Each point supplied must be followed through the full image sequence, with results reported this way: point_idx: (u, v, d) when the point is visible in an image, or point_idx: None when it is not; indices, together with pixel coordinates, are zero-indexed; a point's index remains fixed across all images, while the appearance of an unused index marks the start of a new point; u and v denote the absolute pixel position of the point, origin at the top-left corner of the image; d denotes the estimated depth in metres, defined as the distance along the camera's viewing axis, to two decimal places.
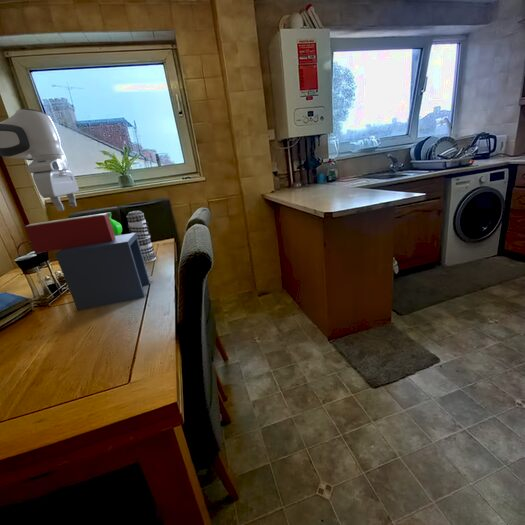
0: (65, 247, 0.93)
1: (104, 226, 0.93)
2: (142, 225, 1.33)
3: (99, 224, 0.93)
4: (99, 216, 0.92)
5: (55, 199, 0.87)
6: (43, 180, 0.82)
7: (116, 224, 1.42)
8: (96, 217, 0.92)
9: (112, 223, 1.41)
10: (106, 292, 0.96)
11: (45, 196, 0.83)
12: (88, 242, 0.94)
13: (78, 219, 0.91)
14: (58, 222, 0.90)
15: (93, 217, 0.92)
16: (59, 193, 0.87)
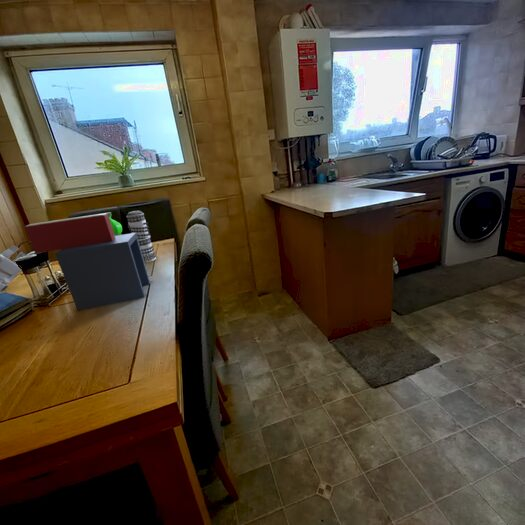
0: (65, 247, 0.93)
1: (104, 226, 0.93)
2: (142, 225, 1.33)
3: (99, 224, 0.93)
4: (99, 216, 0.92)
5: None
6: None
7: (116, 224, 1.42)
8: (96, 217, 0.92)
9: (112, 223, 1.41)
10: (106, 292, 0.96)
11: None
12: (88, 242, 0.94)
13: (78, 219, 0.91)
14: (58, 222, 0.90)
15: (93, 217, 0.92)
16: (18, 268, 1.03)
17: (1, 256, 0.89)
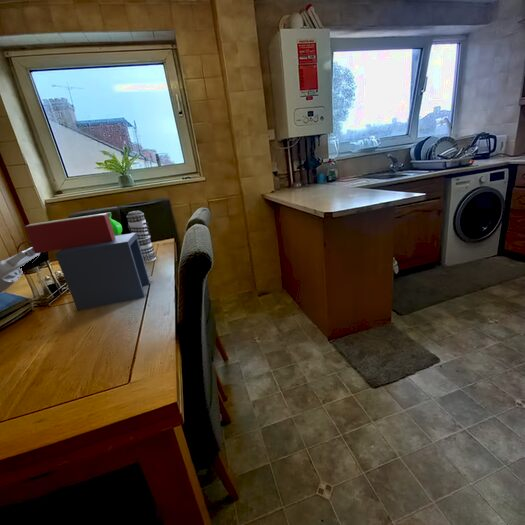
0: (65, 247, 0.93)
1: (104, 226, 0.93)
2: (142, 225, 1.33)
3: (99, 224, 0.93)
4: (99, 216, 0.92)
5: None
6: None
7: (116, 224, 1.42)
8: (96, 217, 0.92)
9: (112, 223, 1.41)
10: (106, 292, 0.96)
11: None
12: (88, 242, 0.94)
13: (78, 219, 0.91)
14: (58, 222, 0.90)
15: (93, 217, 0.92)
16: None
17: (4, 270, 0.84)
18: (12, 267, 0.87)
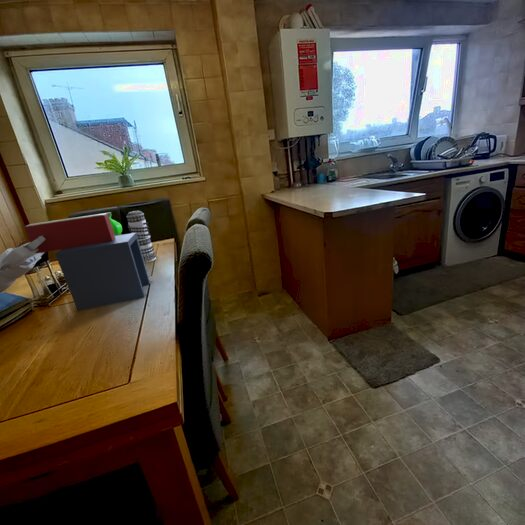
0: (65, 247, 0.93)
1: (104, 226, 0.93)
2: (142, 225, 1.33)
3: (99, 224, 0.93)
4: (99, 216, 0.92)
5: None
6: None
7: (116, 224, 1.42)
8: (96, 217, 0.92)
9: (112, 223, 1.41)
10: (106, 292, 0.96)
11: None
12: (88, 242, 0.94)
13: (78, 219, 0.91)
14: (58, 222, 0.90)
15: (93, 217, 0.92)
16: None
17: (22, 255, 0.84)
18: (29, 253, 0.86)
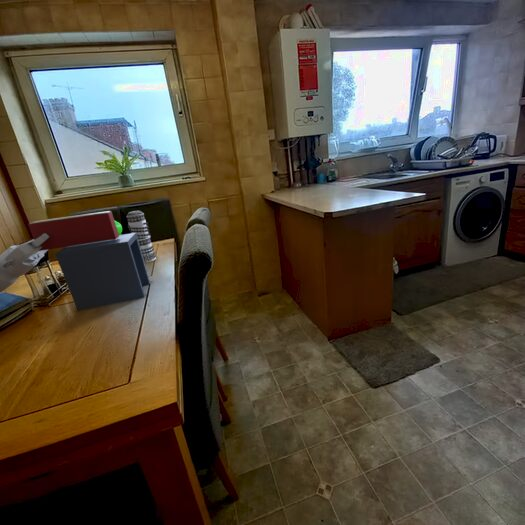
0: (69, 245, 0.93)
1: (108, 223, 0.93)
2: (142, 225, 1.33)
3: (102, 222, 0.93)
4: (103, 214, 0.92)
5: None
6: None
7: (116, 224, 1.42)
8: (100, 215, 0.92)
9: None
10: (106, 292, 0.96)
11: None
12: (92, 240, 0.94)
13: (82, 217, 0.91)
14: (62, 219, 0.90)
15: (97, 215, 0.92)
16: None
17: (26, 252, 0.84)
18: (33, 250, 0.86)
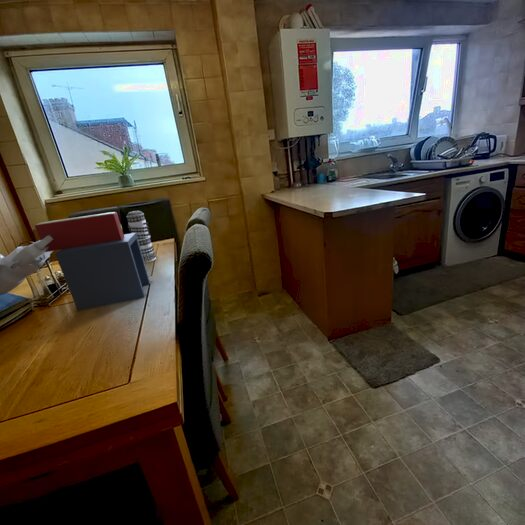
0: (75, 246, 0.93)
1: (113, 224, 0.94)
2: (142, 225, 1.33)
3: (108, 223, 0.93)
4: (108, 215, 0.93)
5: None
6: None
7: None
8: (105, 216, 0.92)
9: None
10: (106, 292, 0.96)
11: None
12: (97, 241, 0.94)
13: (88, 218, 0.92)
14: (68, 221, 0.91)
15: (102, 216, 0.92)
16: None
17: (33, 253, 0.84)
18: (39, 251, 0.87)
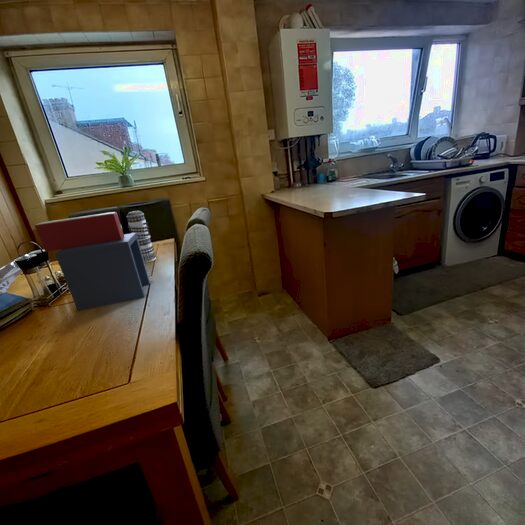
0: (75, 246, 0.93)
1: (113, 224, 0.94)
2: (142, 225, 1.33)
3: (108, 223, 0.93)
4: (108, 215, 0.93)
5: None
6: None
7: None
8: (105, 216, 0.92)
9: None
10: (106, 292, 0.96)
11: None
12: (97, 241, 0.94)
13: (88, 218, 0.92)
14: (68, 221, 0.91)
15: (102, 216, 0.92)
16: None
17: None
18: (1, 279, 0.87)
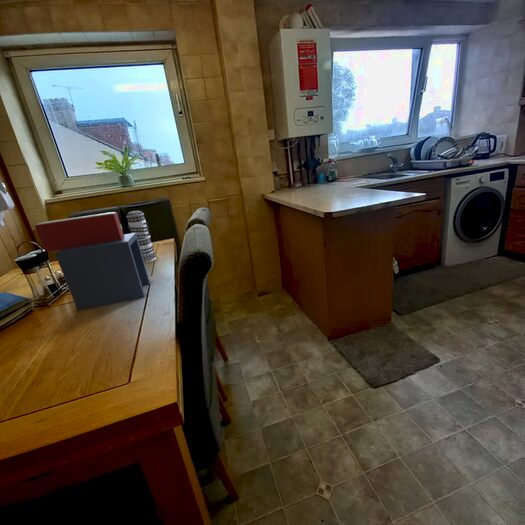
0: (75, 246, 0.93)
1: (113, 224, 0.94)
2: (142, 225, 1.33)
3: (108, 223, 0.93)
4: (108, 215, 0.93)
5: None
6: None
7: None
8: (105, 216, 0.92)
9: None
10: (106, 292, 0.96)
11: None
12: (97, 241, 0.94)
13: (88, 218, 0.92)
14: (68, 221, 0.91)
15: (102, 216, 0.92)
16: None
17: (9, 208, 0.87)
18: (0, 210, 0.86)
